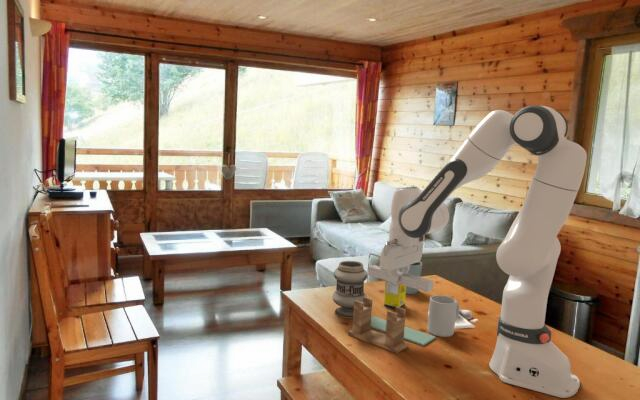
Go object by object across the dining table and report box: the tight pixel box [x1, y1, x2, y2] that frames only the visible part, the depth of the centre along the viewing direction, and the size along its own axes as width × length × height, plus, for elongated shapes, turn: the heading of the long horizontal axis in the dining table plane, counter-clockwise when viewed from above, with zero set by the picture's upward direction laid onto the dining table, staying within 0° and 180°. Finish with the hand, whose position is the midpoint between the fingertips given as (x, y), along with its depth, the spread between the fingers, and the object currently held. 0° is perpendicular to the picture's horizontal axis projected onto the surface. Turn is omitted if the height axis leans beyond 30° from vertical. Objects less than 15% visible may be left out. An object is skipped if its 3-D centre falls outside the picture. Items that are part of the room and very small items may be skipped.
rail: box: [367, 264, 434, 293], centre depth 156 cm, size 22×3×3 cm, turn 50°
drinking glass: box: [399, 260, 423, 295], centre depth 200 cm, size 10×10×12 cm
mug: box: [426, 294, 461, 338], centre depth 160 cm, size 12×8×11 cm
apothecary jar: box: [331, 260, 369, 319], centre depth 170 cm, size 12×12×18 cm
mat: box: [371, 315, 436, 347], centre depth 158 cm, size 24×8×1 cm, turn 50°
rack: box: [347, 297, 409, 354], centre depth 149 cm, size 18×6×11 cm, turn 50°
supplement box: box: [383, 280, 406, 309], centre depth 181 cm, size 6×6×11 cm
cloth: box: [427, 308, 479, 330], centre depth 173 cm, size 22×19×6 cm
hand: (399, 279), depth 156 cm, fingers closed on rail, 3 cm apart
